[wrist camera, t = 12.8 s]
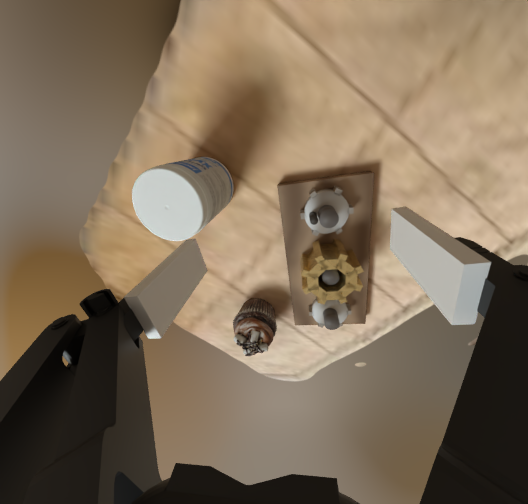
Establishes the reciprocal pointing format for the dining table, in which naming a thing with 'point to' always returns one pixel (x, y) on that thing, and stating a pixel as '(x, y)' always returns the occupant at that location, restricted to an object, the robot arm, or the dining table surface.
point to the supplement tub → (182, 196)
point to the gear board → (327, 240)
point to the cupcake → (255, 326)
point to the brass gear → (327, 260)
